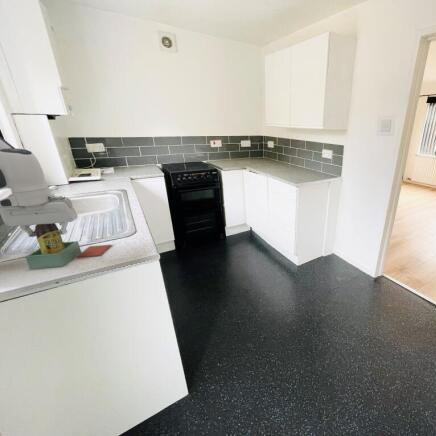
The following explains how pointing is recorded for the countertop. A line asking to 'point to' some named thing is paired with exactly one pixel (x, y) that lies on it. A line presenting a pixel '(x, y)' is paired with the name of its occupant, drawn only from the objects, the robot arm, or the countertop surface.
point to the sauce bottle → (49, 238)
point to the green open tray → (54, 256)
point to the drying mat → (94, 251)
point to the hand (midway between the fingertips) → (48, 234)
